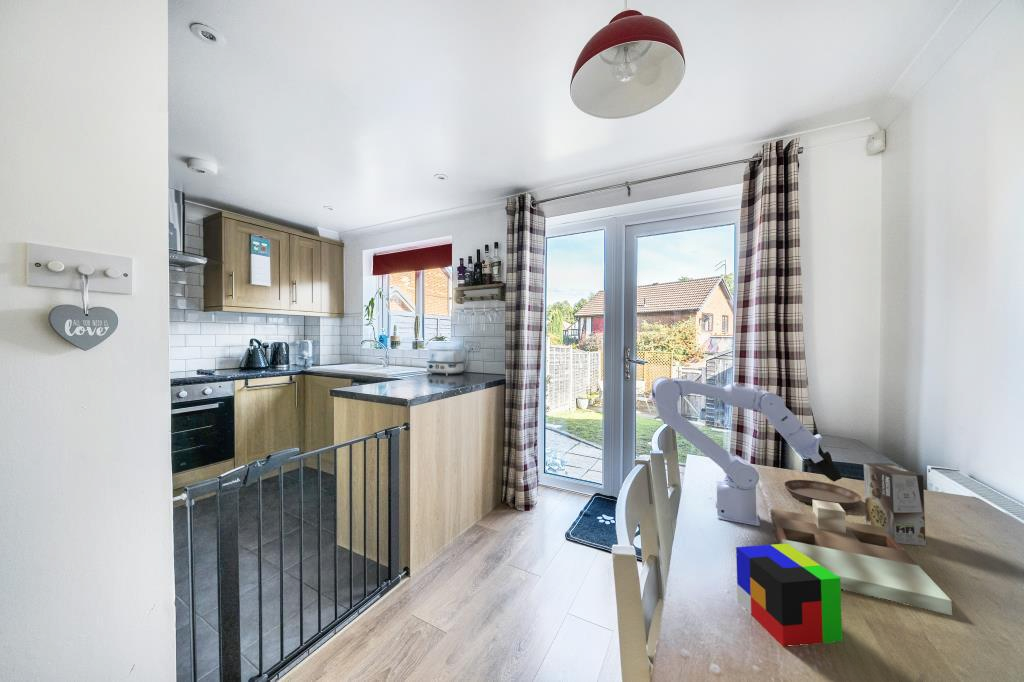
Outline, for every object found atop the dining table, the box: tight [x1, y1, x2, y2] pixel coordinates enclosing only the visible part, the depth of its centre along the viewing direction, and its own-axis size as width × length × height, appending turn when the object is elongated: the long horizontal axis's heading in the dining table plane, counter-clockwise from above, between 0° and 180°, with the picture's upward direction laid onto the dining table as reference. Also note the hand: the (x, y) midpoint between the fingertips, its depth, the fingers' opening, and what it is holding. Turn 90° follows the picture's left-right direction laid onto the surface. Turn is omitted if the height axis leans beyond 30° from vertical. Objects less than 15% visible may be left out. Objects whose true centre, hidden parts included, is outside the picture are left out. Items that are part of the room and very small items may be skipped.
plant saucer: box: [783, 479, 863, 510], centre depth 108 cm, size 18×18×3 cm
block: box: [812, 500, 847, 533], centre depth 87 cm, size 5×5×5 cm
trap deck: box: [769, 508, 953, 616], centre depth 79 cm, size 22×28×2 cm
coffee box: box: [863, 462, 927, 546], centre depth 88 cm, size 9×6×16 cm
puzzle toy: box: [735, 543, 843, 648], centre depth 61 cm, size 10×10×10 cm
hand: (831, 472), depth 92 cm, fingers open, 7 cm apart
